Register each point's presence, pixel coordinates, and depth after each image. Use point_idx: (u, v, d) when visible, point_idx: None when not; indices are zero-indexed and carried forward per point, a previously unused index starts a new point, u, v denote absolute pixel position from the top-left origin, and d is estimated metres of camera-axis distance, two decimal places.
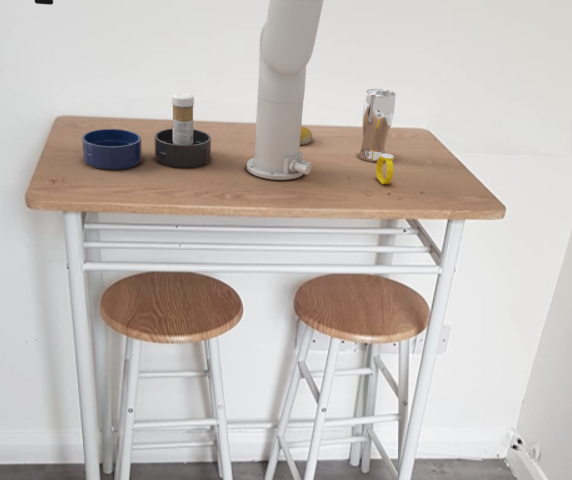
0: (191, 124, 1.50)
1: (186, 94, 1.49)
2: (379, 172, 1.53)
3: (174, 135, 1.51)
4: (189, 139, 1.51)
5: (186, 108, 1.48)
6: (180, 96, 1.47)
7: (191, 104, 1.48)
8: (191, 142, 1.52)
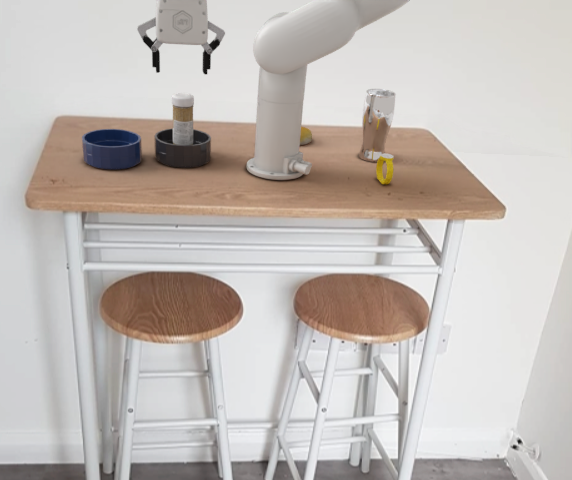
0: (191, 124, 1.50)
1: (186, 94, 1.49)
2: (379, 172, 1.53)
3: (174, 135, 1.51)
4: (189, 139, 1.51)
5: (186, 108, 1.48)
6: (180, 96, 1.47)
7: (191, 104, 1.48)
8: (191, 142, 1.52)
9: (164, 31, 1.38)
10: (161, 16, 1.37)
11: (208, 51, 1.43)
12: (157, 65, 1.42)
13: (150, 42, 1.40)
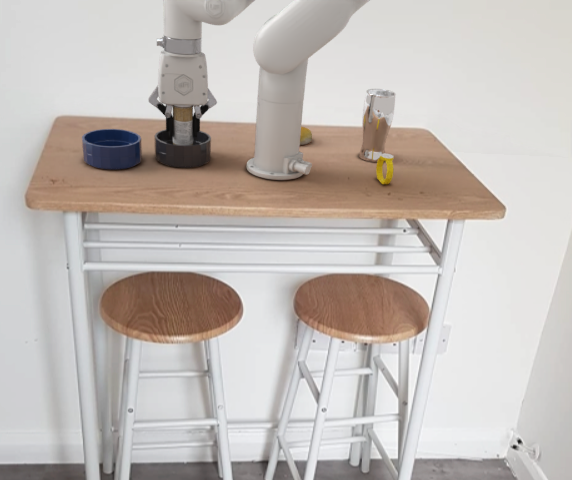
0: (191, 124, 1.50)
1: None
2: (379, 172, 1.53)
3: (174, 135, 1.51)
4: (189, 139, 1.51)
5: (186, 108, 1.48)
6: None
7: None
8: (191, 142, 1.52)
9: (166, 93, 1.44)
10: (163, 80, 1.43)
11: (197, 116, 1.50)
12: (171, 130, 1.50)
13: (164, 109, 1.48)
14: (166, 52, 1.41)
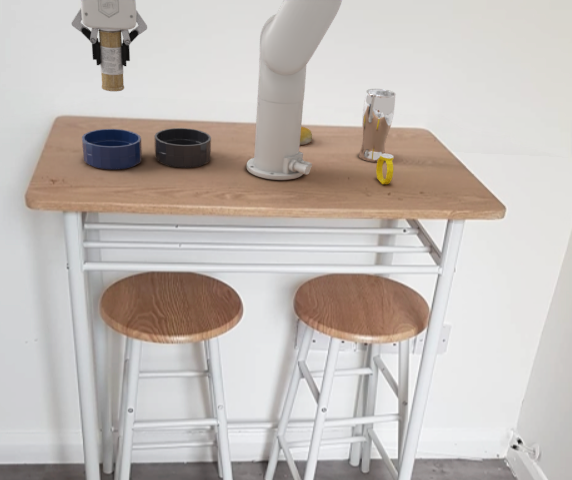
0: (119, 51, 1.39)
1: None
2: (379, 172, 1.53)
3: (101, 63, 1.39)
4: (117, 68, 1.40)
5: (113, 32, 1.36)
6: None
7: None
8: (120, 72, 1.41)
9: (89, 15, 1.33)
10: None
11: (126, 42, 1.38)
12: (97, 57, 1.38)
13: (89, 33, 1.36)
14: None
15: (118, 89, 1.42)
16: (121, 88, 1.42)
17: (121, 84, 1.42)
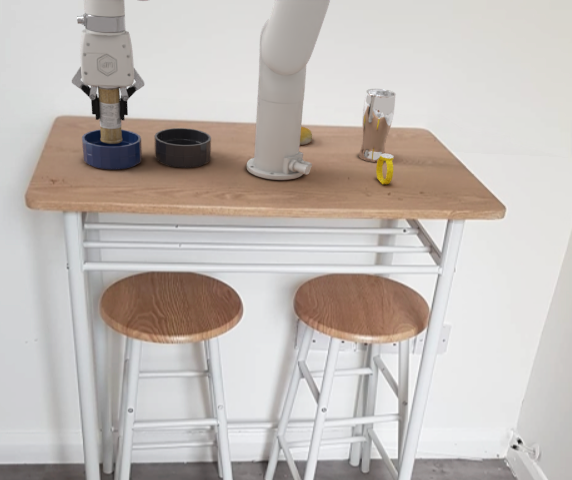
0: (118, 106, 1.44)
1: None
2: (379, 172, 1.53)
3: (100, 118, 1.45)
4: (116, 122, 1.45)
5: (111, 89, 1.41)
6: None
7: None
8: (119, 125, 1.46)
9: (89, 74, 1.38)
10: (85, 59, 1.37)
11: (124, 98, 1.43)
12: (96, 112, 1.44)
13: (88, 90, 1.42)
14: (87, 30, 1.35)
15: (116, 142, 1.47)
16: (119, 141, 1.48)
17: (119, 137, 1.48)
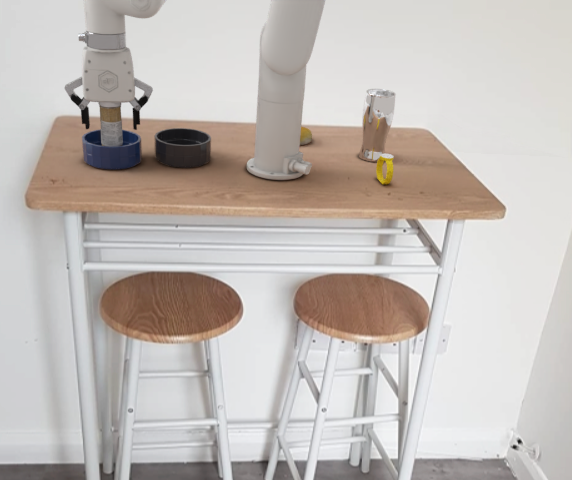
0: (119, 125, 1.46)
1: None
2: (379, 172, 1.53)
3: (102, 136, 1.47)
4: (117, 140, 1.47)
5: (113, 108, 1.43)
6: None
7: (118, 104, 1.44)
8: (120, 143, 1.48)
9: (90, 90, 1.40)
10: (86, 76, 1.39)
11: (136, 108, 1.45)
12: (86, 122, 1.44)
13: (78, 100, 1.42)
14: (88, 47, 1.37)
15: None
16: None
17: None
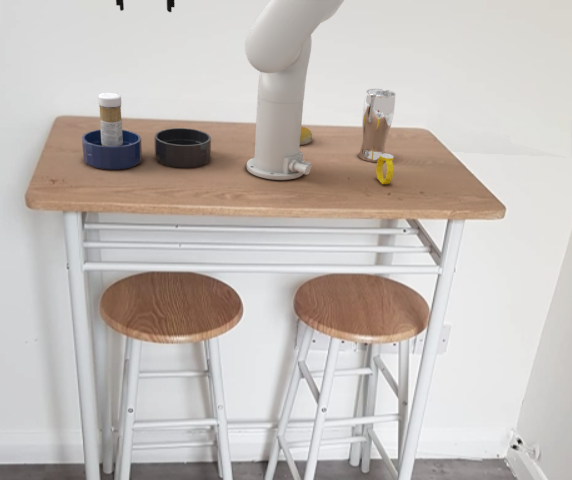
0: (119, 125, 1.46)
1: (113, 94, 1.45)
2: (379, 172, 1.53)
3: (102, 136, 1.47)
4: (117, 140, 1.47)
5: (113, 108, 1.43)
6: (106, 96, 1.43)
7: (118, 104, 1.44)
8: (120, 143, 1.48)
9: None
10: None
11: None
12: (121, 2, 1.42)
13: None
14: None
15: None
16: None
17: None
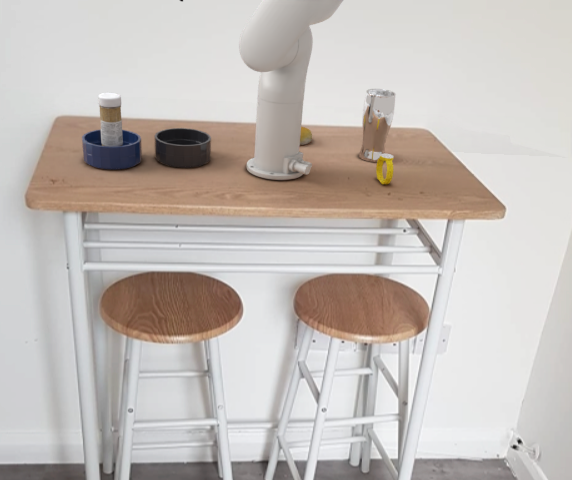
0: (119, 125, 1.46)
1: (113, 94, 1.45)
2: (379, 172, 1.53)
3: (102, 136, 1.47)
4: (117, 140, 1.47)
5: (113, 108, 1.43)
6: (106, 96, 1.43)
7: (118, 104, 1.44)
8: (120, 143, 1.48)
9: None
10: None
11: None
12: None
13: None
14: None
15: None
16: None
17: None
